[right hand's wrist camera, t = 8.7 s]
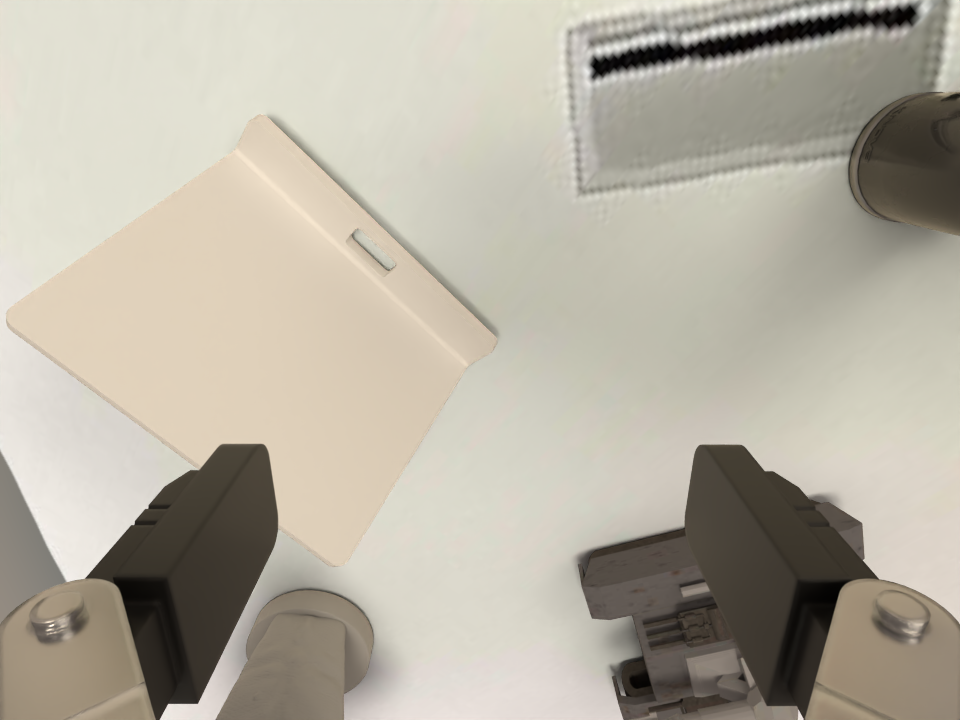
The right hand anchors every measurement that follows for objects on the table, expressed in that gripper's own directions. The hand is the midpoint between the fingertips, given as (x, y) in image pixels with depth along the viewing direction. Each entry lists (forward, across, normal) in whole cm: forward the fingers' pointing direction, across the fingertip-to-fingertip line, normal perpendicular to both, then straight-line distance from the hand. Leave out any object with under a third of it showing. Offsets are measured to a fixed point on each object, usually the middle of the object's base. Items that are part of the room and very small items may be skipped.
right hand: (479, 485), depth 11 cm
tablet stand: (+39, +13, +8) cm, 42 cm away
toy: (+39, -24, +40) cm, 61 cm away
